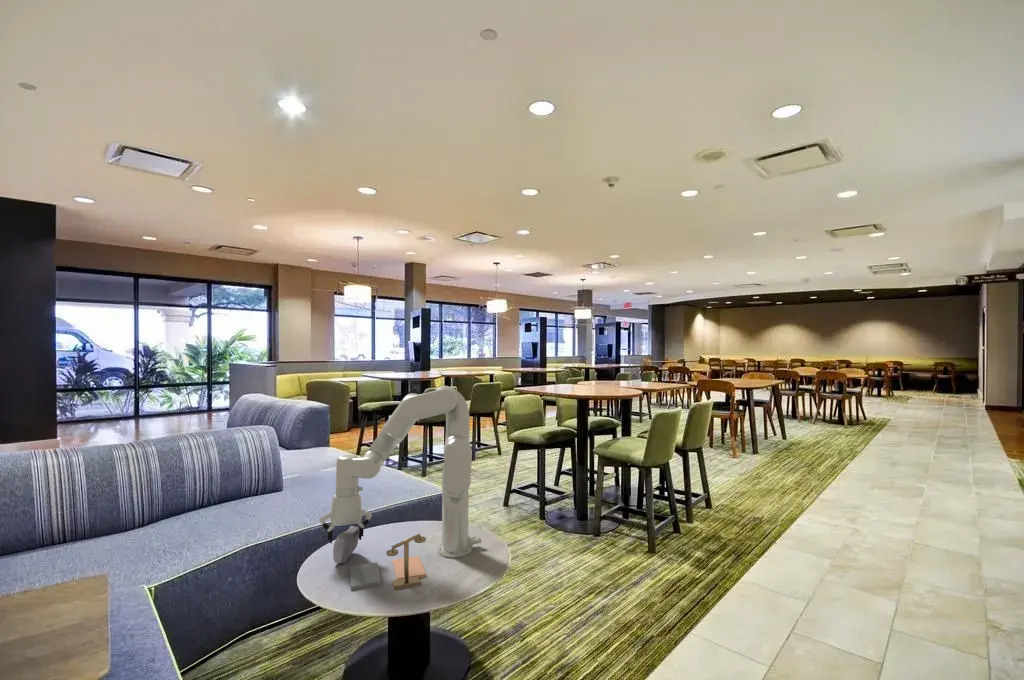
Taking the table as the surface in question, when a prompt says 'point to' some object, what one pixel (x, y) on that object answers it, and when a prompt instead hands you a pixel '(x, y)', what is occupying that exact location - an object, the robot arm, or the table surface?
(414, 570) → the terracotta mat
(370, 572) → the slate mat
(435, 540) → the table surface
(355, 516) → the robot arm
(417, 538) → the balance
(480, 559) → the table surface
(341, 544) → the stone block
